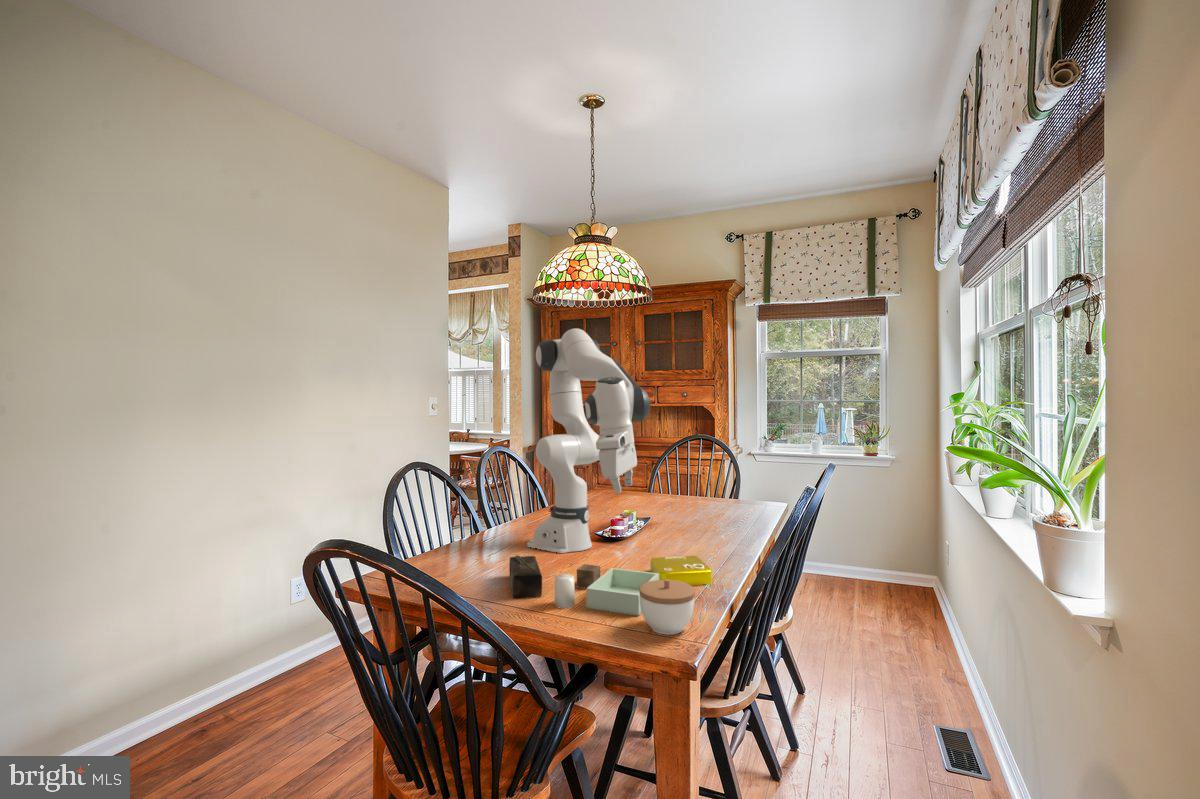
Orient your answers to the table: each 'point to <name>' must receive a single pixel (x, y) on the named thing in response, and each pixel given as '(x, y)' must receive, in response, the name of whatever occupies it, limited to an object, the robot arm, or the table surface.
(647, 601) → the lidded bowl
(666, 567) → the element tile
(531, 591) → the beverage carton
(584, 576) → the walnut block
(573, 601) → the white rounded cylinder
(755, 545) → the table surface
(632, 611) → the tote
